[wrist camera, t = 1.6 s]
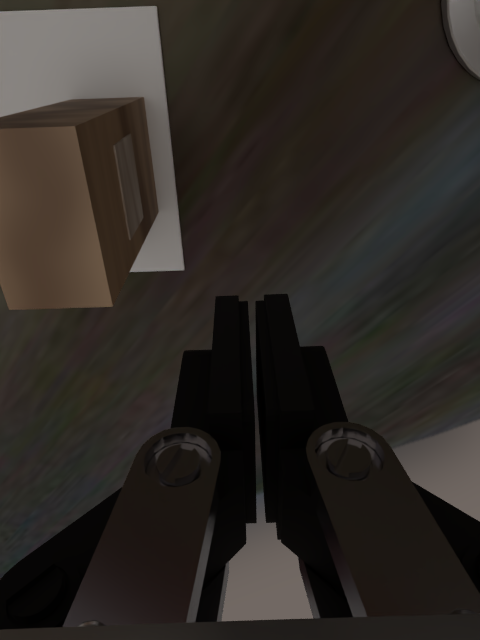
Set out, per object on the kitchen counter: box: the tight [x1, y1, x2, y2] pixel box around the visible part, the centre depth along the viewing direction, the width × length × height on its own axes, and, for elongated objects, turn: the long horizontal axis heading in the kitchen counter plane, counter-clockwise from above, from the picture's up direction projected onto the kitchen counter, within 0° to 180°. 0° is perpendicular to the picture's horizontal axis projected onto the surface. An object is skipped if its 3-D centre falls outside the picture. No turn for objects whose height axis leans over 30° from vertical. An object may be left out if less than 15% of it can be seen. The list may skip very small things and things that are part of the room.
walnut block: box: [0, 97, 159, 310], centre depth 25 cm, size 5×8×15 cm, turn 2°
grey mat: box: [0, 6, 185, 272], centre depth 32 cm, size 24×18×1 cm
